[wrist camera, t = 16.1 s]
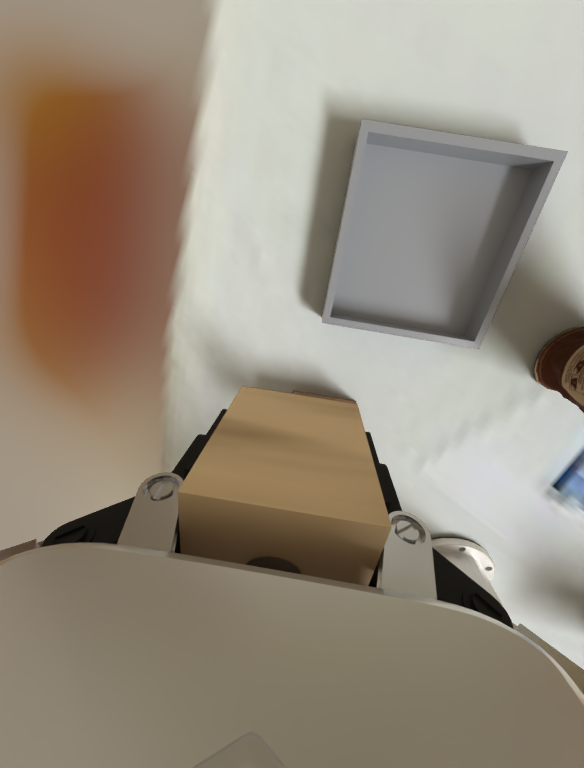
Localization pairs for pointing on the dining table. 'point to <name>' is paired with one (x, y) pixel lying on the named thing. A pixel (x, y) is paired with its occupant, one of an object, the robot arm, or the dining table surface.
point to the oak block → (286, 489)
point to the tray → (433, 231)
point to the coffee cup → (564, 366)
